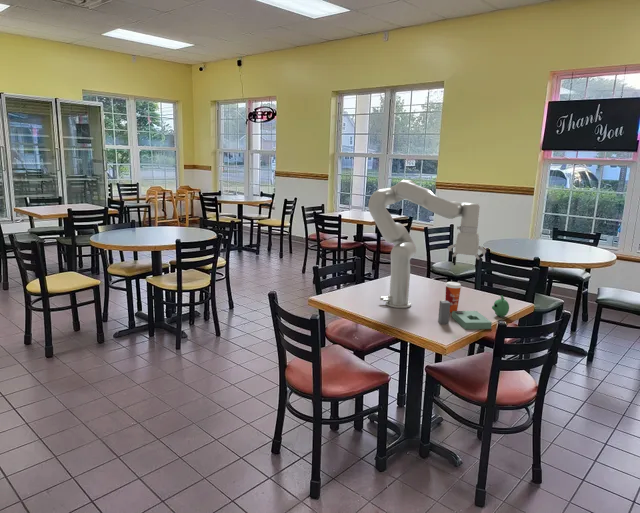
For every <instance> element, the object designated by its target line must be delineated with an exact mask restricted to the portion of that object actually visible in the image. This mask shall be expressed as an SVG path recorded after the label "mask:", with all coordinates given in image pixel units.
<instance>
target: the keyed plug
mask: <svg viewBox="0 0 640 513" xmlns="http://www.w3.org/2000/svg"><path fill="white" fill-rule="evenodd" d="M449 321H450V302H449V301H445V299H441V300H439V308H438V318H437V322H438V323H439V324H440V325H449Z"/></svg>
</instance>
